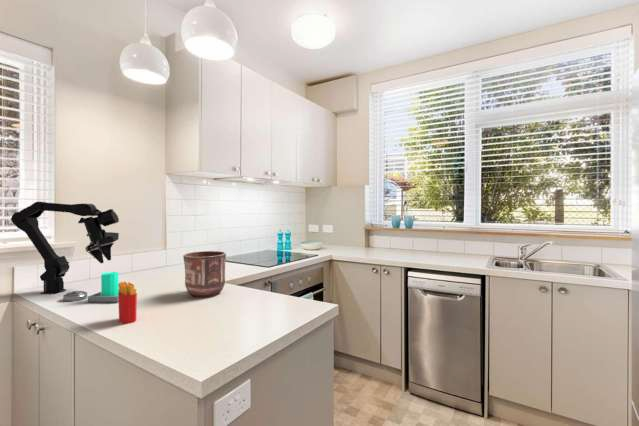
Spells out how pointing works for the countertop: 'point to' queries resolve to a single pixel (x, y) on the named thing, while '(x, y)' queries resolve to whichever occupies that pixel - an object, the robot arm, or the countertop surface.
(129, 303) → the french fries
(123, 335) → the countertop surface
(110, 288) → the candle
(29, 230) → the robot arm
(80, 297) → the pulley
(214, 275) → the pottery
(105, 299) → the tray
